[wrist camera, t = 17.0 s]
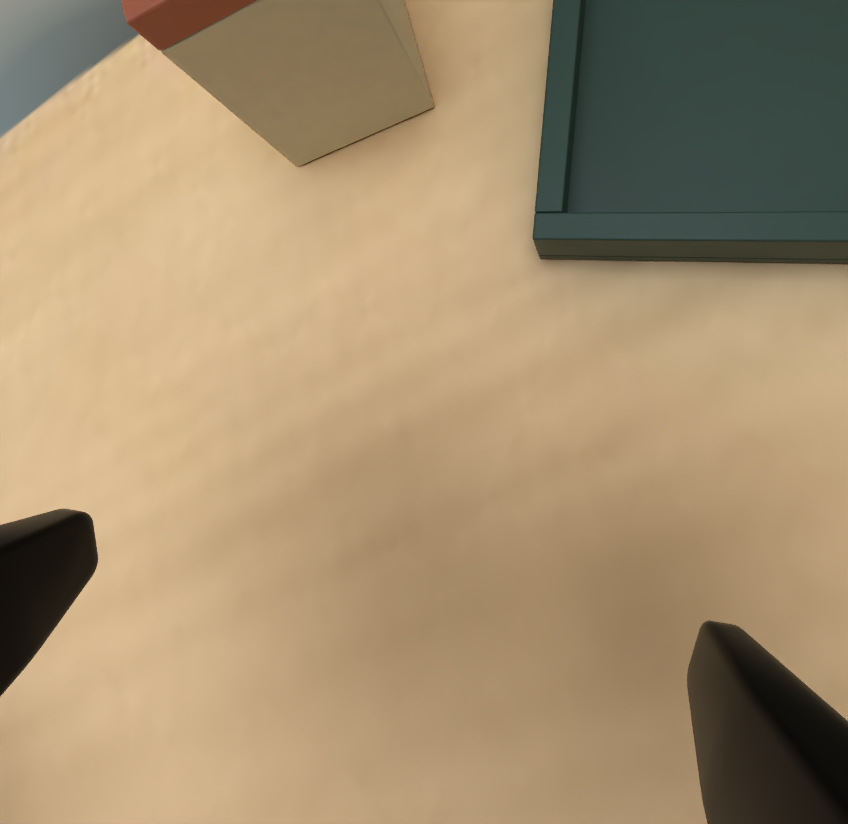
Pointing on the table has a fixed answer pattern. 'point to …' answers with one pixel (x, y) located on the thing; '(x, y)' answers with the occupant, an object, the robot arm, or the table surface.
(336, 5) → the carton
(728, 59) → the tray
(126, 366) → the table surface
